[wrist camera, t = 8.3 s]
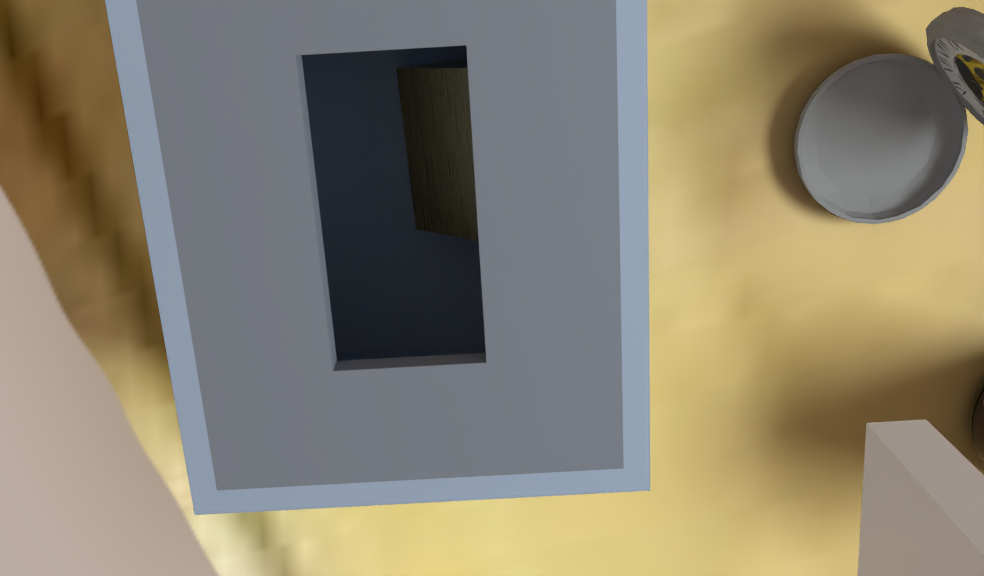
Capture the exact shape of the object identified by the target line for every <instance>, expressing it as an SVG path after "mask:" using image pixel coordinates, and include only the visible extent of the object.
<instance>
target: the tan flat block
mask: <svg viewBox="0 0 984 576" xmlns="http://www.w3.org/2000/svg"><path fill="white" fill-rule="evenodd" d="M396 70H397V78H398V86H399V94H400V102H401V111H402V119H403V127H404V135H405V143H406V151H407V160H408V168H409V176H410V184H411V192H412V201H413V209H414V217H415V225H416V229H418V230H423V231H428V232H433V233H438V234H443V235H448V236H453V237H458V238H463V239H468V240H473V241H478V242H479V237H478V222H477V206H476V190H475V174H474V159H473V143H472V127H471V111H470V96H469V80H468V64H467V60H447V61H441V62H434V63H428V64H422V65H416V66H409V67H403V68H397V69H396Z"/></svg>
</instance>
